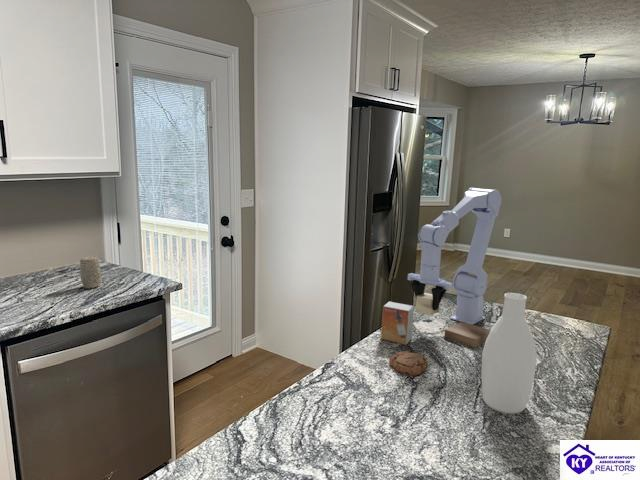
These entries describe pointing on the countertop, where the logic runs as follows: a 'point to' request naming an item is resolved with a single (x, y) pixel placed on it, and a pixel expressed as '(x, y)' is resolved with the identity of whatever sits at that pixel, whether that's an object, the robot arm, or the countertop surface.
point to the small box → (397, 322)
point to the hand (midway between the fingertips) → (427, 307)
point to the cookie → (408, 363)
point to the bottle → (509, 359)
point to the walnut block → (467, 334)
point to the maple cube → (425, 304)
